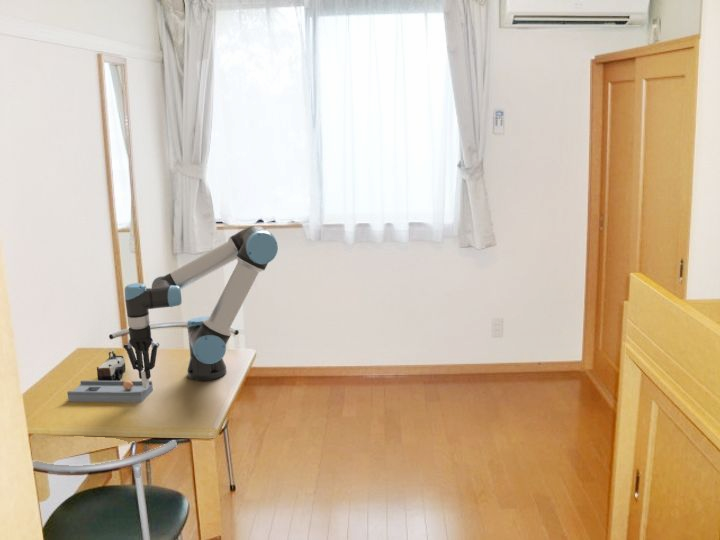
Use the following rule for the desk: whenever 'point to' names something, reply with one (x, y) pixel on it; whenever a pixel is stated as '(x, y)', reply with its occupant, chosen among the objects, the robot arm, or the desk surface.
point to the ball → (127, 385)
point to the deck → (109, 392)
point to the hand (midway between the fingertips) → (146, 386)
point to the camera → (111, 368)
